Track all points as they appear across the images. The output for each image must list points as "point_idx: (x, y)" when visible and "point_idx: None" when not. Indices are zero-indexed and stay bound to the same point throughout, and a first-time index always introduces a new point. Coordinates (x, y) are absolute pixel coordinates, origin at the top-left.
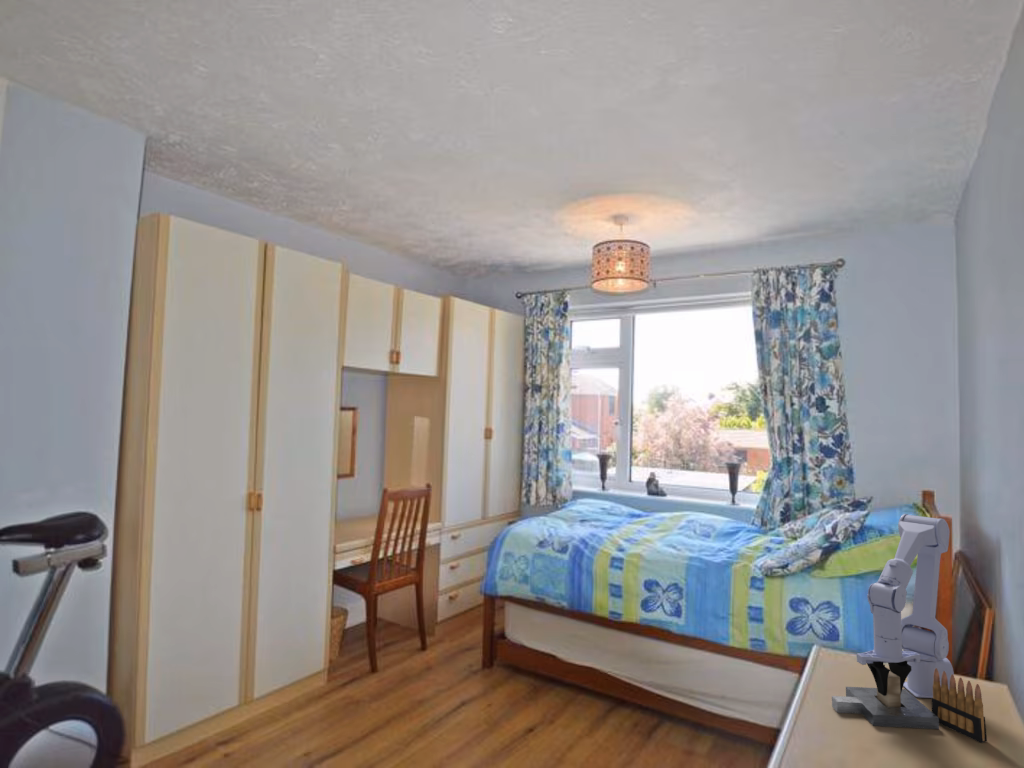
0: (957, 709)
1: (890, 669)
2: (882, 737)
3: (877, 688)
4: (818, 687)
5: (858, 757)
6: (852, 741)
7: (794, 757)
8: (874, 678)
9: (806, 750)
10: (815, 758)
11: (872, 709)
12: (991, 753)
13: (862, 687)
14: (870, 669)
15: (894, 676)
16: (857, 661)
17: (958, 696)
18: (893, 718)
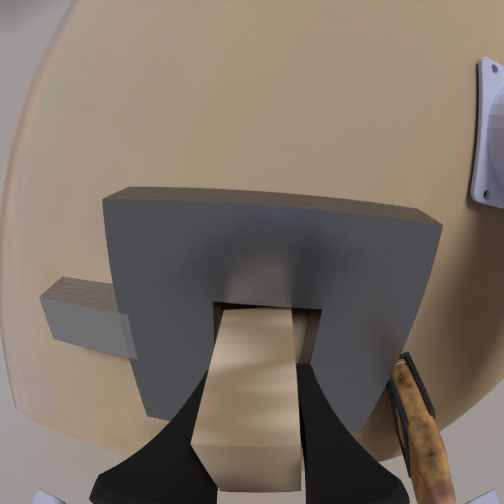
0: (407, 459)
1: (307, 463)
2: (164, 424)
3: (201, 381)
4: (55, 104)
5: (104, 445)
6: (98, 419)
7: (27, 416)
8: (174, 419)
9: (36, 412)
10: (49, 427)
11: (156, 396)
12: (376, 454)
13: (192, 204)
14: (136, 457)
15: (273, 487)
16: (41, 493)
17: (419, 493)
18: None
